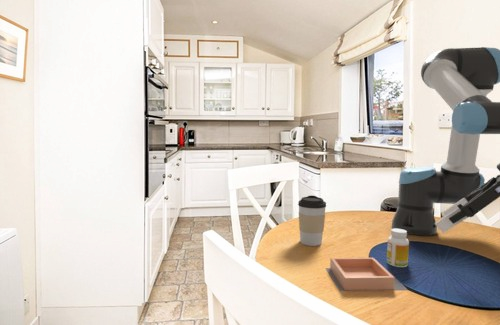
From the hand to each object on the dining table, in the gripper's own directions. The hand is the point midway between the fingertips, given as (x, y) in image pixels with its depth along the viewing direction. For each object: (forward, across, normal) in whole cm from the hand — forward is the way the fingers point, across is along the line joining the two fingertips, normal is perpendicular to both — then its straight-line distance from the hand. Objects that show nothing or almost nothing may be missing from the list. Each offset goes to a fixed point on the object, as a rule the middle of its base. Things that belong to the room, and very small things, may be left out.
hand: (442, 221), depth 83 cm
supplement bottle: (+17, 0, -3) cm, 18 cm away
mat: (+20, -15, 0) cm, 25 cm away
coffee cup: (+36, +1, +16) cm, 40 cm away
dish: (+20, -16, +1) cm, 26 cm away
